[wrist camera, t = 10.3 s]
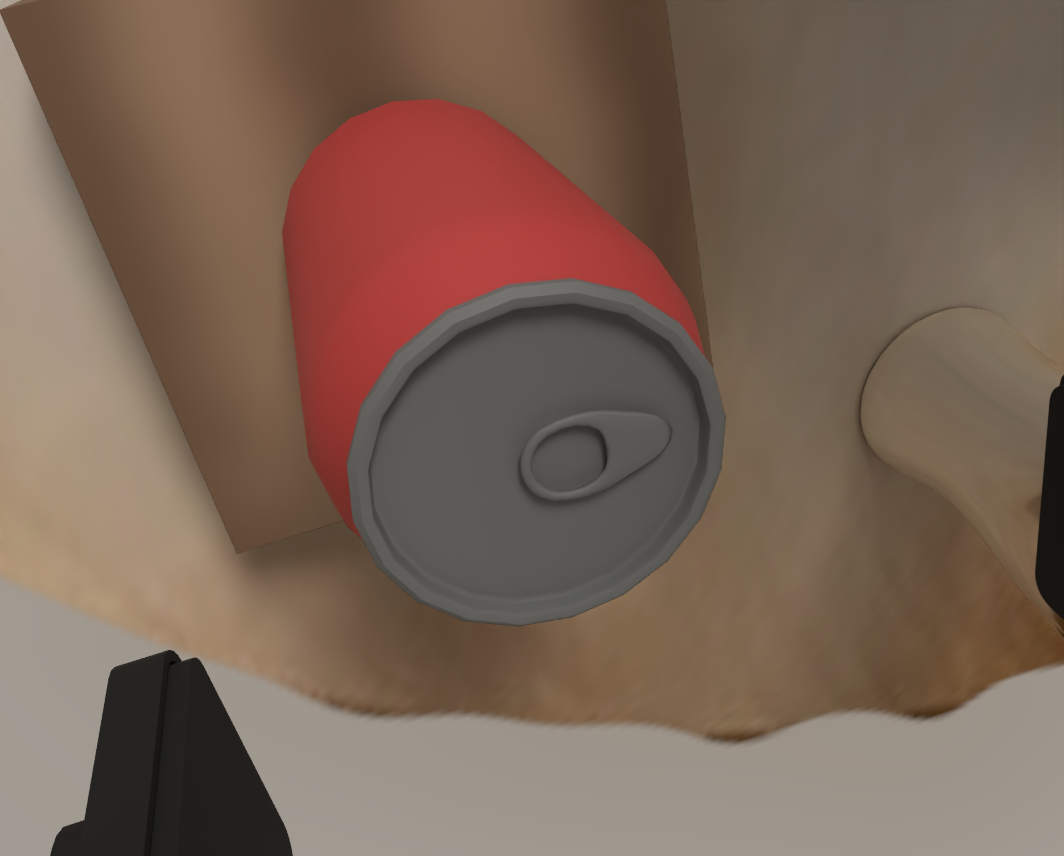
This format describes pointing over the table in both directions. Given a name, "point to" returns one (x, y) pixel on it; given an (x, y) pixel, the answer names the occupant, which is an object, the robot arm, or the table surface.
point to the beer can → (492, 369)
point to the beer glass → (970, 428)
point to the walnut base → (283, 149)
